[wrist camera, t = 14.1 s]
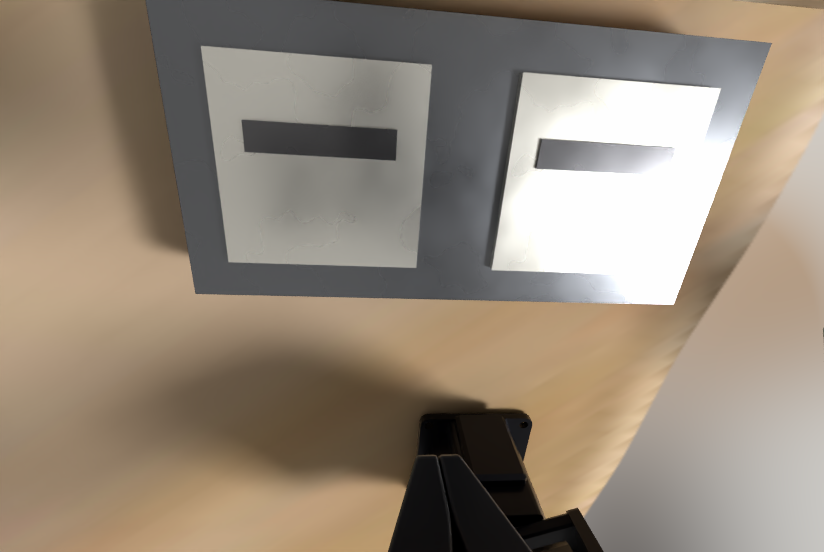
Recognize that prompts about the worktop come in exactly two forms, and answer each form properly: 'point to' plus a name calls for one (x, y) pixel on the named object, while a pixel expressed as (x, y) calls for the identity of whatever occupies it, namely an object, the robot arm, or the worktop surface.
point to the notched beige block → (793, 3)
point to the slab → (442, 150)
